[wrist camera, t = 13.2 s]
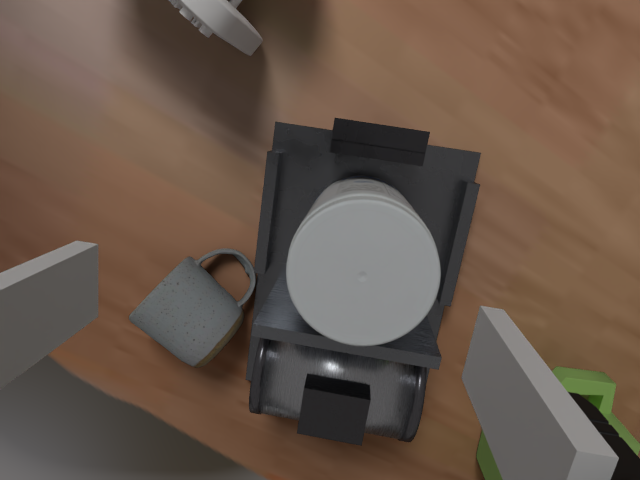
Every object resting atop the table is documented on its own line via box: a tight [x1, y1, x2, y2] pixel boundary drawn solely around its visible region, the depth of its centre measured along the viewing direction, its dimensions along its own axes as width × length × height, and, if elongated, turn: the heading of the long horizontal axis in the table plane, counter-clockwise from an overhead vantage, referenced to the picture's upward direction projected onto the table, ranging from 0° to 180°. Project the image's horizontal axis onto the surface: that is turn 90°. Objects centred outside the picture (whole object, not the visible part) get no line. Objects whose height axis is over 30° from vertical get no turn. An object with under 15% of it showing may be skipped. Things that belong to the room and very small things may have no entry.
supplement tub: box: [286, 176, 441, 346], centre depth 33 cm, size 10×10×15 cm
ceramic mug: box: [129, 249, 256, 368], centre depth 40 cm, size 11×8×8 cm
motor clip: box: [246, 118, 481, 446], centre depth 36 cm, size 27×18×12 cm, turn 172°
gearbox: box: [476, 366, 640, 480], centre depth 40 cm, size 18×10×10 cm, turn 173°
